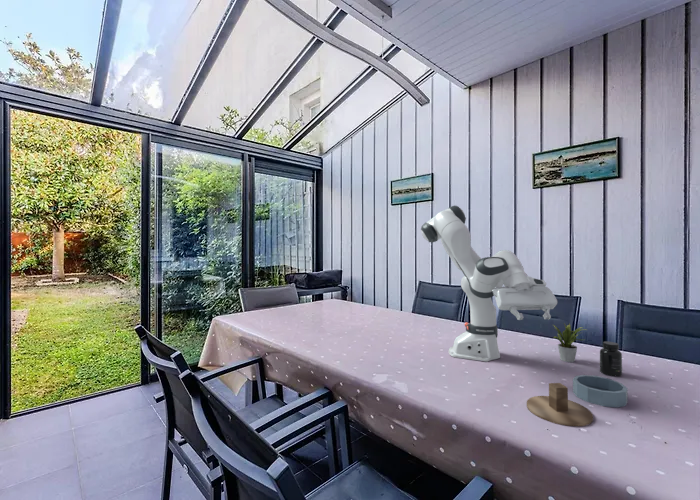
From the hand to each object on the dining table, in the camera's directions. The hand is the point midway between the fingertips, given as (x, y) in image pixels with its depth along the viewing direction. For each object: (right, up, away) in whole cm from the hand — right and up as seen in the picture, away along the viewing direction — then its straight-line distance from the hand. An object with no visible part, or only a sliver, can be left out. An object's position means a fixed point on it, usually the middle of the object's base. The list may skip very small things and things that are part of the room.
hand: (534, 318), depth 113 cm
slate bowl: (+20, -25, -3) cm, 32 cm away
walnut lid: (+1, -26, -12) cm, 29 cm away
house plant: (+33, -25, +31) cm, 51 cm away
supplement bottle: (+39, -25, +17) cm, 49 cm away
